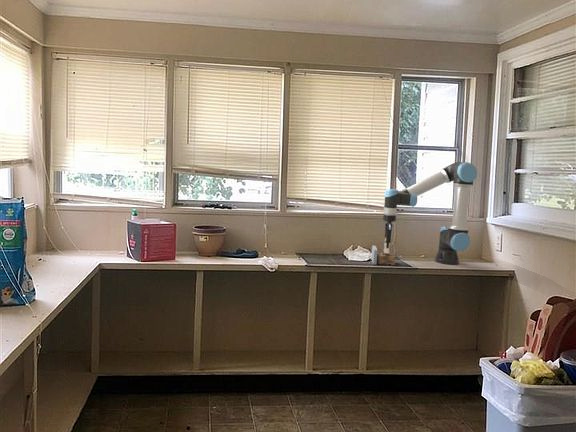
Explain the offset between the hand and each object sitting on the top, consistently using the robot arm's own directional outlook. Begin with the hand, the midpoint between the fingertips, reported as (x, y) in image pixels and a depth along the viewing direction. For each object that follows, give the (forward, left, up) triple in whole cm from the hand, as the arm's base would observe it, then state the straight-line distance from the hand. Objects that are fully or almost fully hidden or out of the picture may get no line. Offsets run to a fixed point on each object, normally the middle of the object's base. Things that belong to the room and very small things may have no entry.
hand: (386, 252), depth 371 cm
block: (0, 0, -7) cm, 7 cm away
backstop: (+7, 0, -7) cm, 10 cm away
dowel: (0, 0, -4) cm, 4 cm away
